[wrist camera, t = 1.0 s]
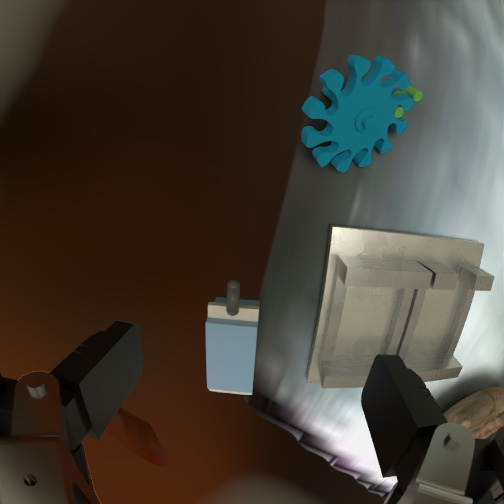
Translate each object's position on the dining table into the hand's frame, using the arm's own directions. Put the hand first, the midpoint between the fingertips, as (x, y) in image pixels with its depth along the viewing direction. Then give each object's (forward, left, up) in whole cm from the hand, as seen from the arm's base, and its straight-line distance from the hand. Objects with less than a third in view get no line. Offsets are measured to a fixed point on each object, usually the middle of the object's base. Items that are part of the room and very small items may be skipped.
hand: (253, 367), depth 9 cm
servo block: (+8, -2, -17) cm, 19 cm away
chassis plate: (+6, +14, -17) cm, 23 cm away
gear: (-11, +7, -17) cm, 22 cm away
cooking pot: (+24, +31, -17) cm, 43 cm away
